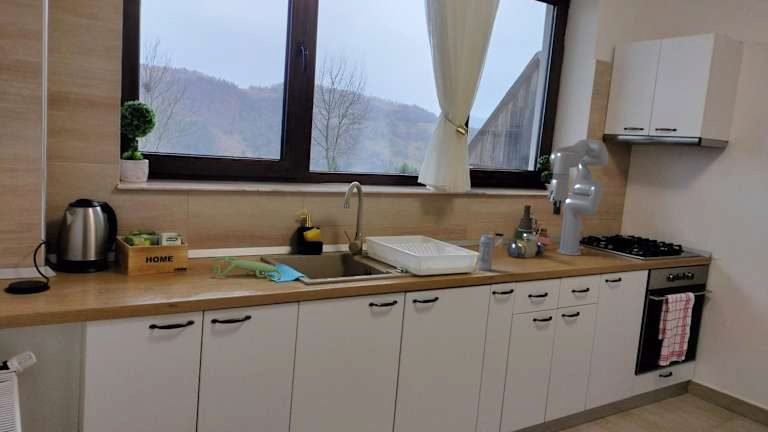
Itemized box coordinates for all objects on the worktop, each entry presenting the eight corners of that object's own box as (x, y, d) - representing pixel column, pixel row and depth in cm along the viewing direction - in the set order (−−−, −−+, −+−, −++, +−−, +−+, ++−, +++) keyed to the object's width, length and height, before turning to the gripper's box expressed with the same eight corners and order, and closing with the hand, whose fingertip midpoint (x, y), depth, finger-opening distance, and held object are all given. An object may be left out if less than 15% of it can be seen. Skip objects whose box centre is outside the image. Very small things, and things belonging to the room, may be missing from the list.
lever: (526, 237, 304) (527, 233, 304) (554, 244, 290) (554, 239, 289) (520, 238, 301) (521, 233, 301) (548, 244, 287) (548, 239, 287)
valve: (533, 253, 311) (534, 237, 310) (543, 256, 305) (545, 239, 304) (506, 255, 299) (507, 238, 298) (516, 258, 294) (518, 241, 292)
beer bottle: (531, 251, 319) (536, 206, 316) (517, 249, 319) (522, 205, 316) (528, 248, 327) (533, 205, 324) (514, 247, 327) (519, 204, 324)
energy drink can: (493, 270, 262) (497, 236, 261) (485, 271, 258) (488, 237, 257) (483, 267, 267) (486, 234, 265) (474, 268, 263) (477, 235, 261)
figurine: (214, 267, 231) (214, 253, 230) (283, 270, 233) (284, 256, 233) (204, 278, 212) (205, 263, 212) (280, 282, 215) (281, 267, 215)
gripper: (564, 177, 299) (560, 213, 301) (544, 176, 291) (540, 213, 293) (576, 178, 293) (572, 215, 295) (556, 177, 284) (552, 215, 287)
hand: (556, 214), depth 294 cm, fingers closed
